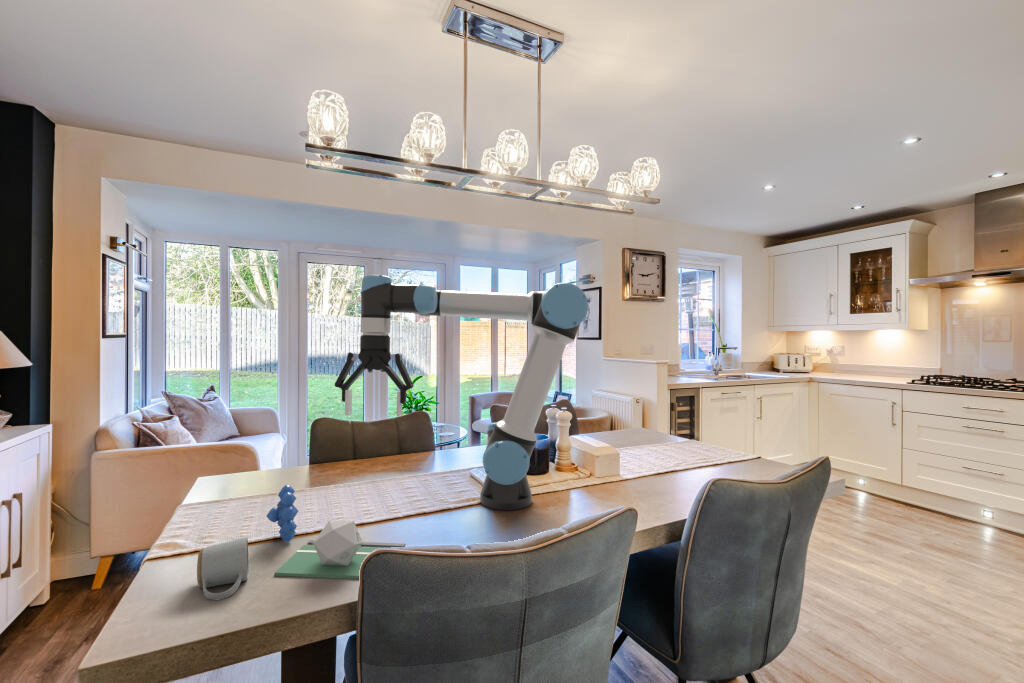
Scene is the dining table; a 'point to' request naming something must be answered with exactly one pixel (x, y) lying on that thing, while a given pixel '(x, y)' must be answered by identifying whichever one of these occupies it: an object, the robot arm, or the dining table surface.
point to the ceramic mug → (223, 566)
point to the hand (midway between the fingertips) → (373, 415)
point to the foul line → (375, 544)
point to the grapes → (285, 513)
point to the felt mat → (311, 566)
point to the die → (338, 543)
